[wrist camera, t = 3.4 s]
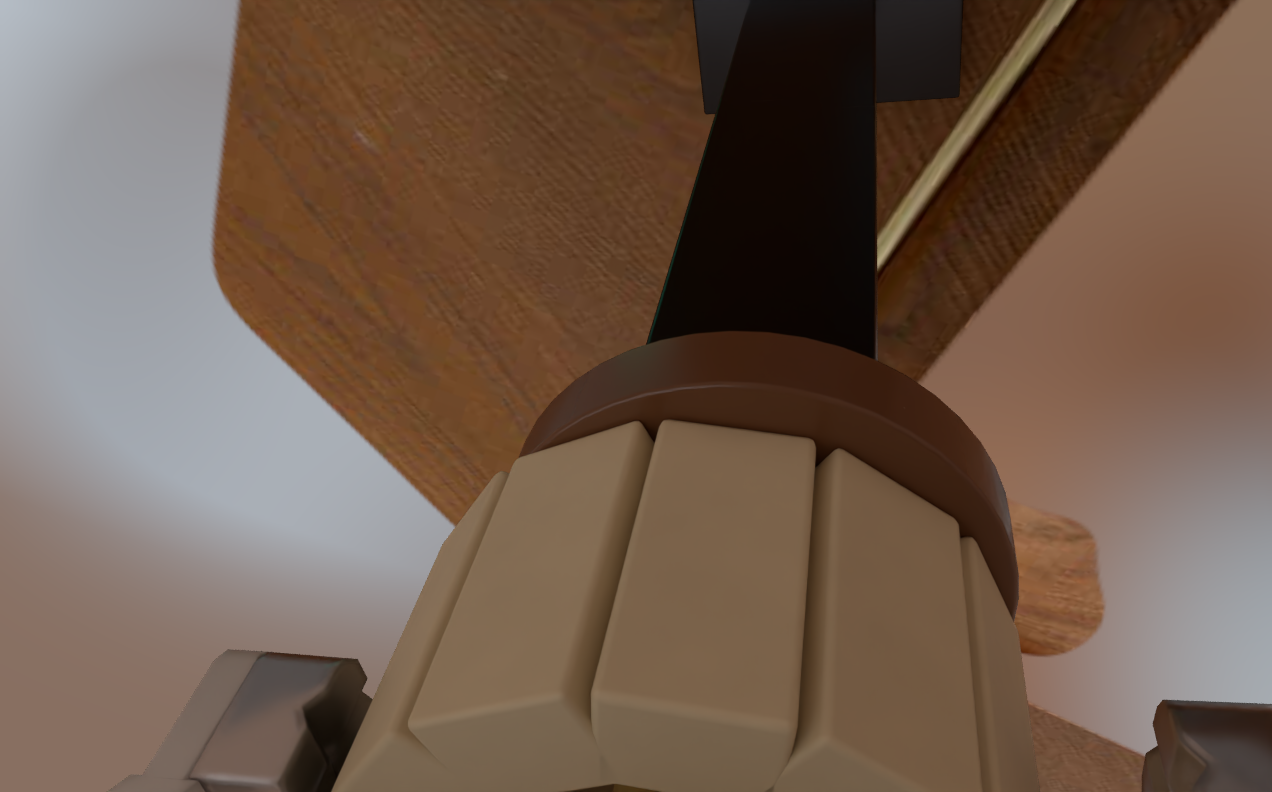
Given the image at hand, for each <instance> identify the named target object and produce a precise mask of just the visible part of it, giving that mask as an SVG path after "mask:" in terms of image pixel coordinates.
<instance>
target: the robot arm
mask: <svg viewBox="0 0 1272 792" xmlns="http://www.w3.org/2000/svg"><path fill="white" fill-rule="evenodd" d="M366 681H367V676H366V675H365V673H364V671H363V669H362V667H361V665H360V663H359V661H358V659H351V658H338V657H325V656H313V655H300V654H299V655H298V654H287V653H274V652H262V651H245V650H227V651H225V652H224V653H223V654H222V655H220V656H219V657H218V658H216V659H215V660H214V661H213V663H212V664H211V666H210V667H209V669H208V671H207V672H206V674H205V676H204V677H203V679H202V680H201V682H200V683H199V685H198V687H197V688H196V690H195V692H194V693H193V695H192V696H191V698H190V700H189V701H188V703H187V704H186V706H185V708H184V709H183V711H182V712H181V714H180V716H179V717H178V719H177V720H176V722H175V724H174V725H173V727H172V729H171V730H170V732H169V733H168V735H167V737H166V738H165V740H164V742H163V743H162V745H161V746H160V748H159V749H158V751H157V753H156V754H155V756H154V758H153V759H152V761H151V762H150V764H149V765H148V767H147V769H146V770H145V772H144V774H143V775H129V776H128V777H127V778H125V779H124V780H122V781H121V782H120V783H118V784H117V785H115V786H114V787H113V788H111V789H110V790H109V791H107V792H331V791H332V789H333V787H334V784H335V782H336V780H337V778H338V775H339V773H340V771H341V769H342V767H343V764H344V762H345V760H346V758H347V756H348V753H349V751H350V749H351V747H352V744H353V742H354V740H355V738H356V736H357V733H358V731H359V729H360V727H361V724H362V722H363V720H364V718H365V716H366V713H367V711H368V709H369V707H370V704H371V702H372V700H373V699H371V698H370V697H369V696H367V695H366V694H365V693H363V692H362V689H363V687H364V685H365V683H366ZM1153 727H1154V731H1155V735H1156V740H1157V744H1158V746H1156V747H1155V748H1153V749H1152V750H1150V751H1149V752H1147V753H1146V755H1145V761H1144V766H1143V772H1142V792H1272V704H1257V703H1231V702H1206V701H1180V700H1162V702H1161V703H1160V704H1159V705H1158V706H1157V709H1156V713H1155V717H1154V721H1153Z"/></svg>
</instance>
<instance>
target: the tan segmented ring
mask: <svg viewBox="0 0 1272 792" xmlns="http://www.w3.org/2000/svg"><path fill="white" fill-rule="evenodd" d="M815 460H816V446H815V443H814V441H813V440H812V439H810V438H806V437H798V436H791V435H783V434H776V433H768V432H761V431H753V430H746V429H738V428H731V427H723V426H716V425H708V424H701V423H693V422H685V421H678V420H670V419H668V420H664V421H663V422H662V423H661V425H660V426H659V429H658V433H657V436H656V440H655V443H654V442H653V440H652V439H651V437H650V436H649V434H648V432H647V431H646V429H645V428H644V426H643V424H642V423H641V422H639V421H633V422H630V423H627V424H624V425H620V426H617V427H614V428H611V429H608V430H605V431H602V432H598V433H595V434H592V435H589V436H586V437H583V438H579V439H576V440H573V441H570V442H567V443H564V444H561V445H557V446H554V447H551V448H548V449H545V450H542V451H538V452H535V453H532V454H529V455H526V456H523V457H520V458H518V459H517V460H516V461H515V462H514V464H513V467H512V469H511V471H510V474H509V473H507V472H503V471H501V472H499V473H497V474H496V475H495V476H494V477H493V478H492V480H491V481H490V482H489V484H488V485H487V486H486V488H485V489H484V490H483V492H482V493H481V494H480V496H479V497H478V498H477V500H476V501H475V502H474V503H473V505H472V506H471V507H470V509H469V510H468V511H467V513H466V514H465V515H464V517H463V518H462V519H461V521H460V522H459V523H458V525H457V526H456V527H455V529H454V530H453V531H452V533H451V534H450V535H449V537H448V538H447V539H446V540H445V542H444V543H443V545H442V547H441V549H440V551H439V553H438V556H437V558H436V560H435V562H434V565H433V567H432V569H431V571H430V573H429V576H428V578H427V580H426V582H425V585H424V587H423V589H422V591H421V593H420V596H419V598H418V600H417V602H416V605H415V607H414V609H413V611H412V613H411V616H410V618H409V620H408V622H407V625H406V627H405V629H404V631H403V633H402V636H401V638H400V640H399V642H398V644H397V647H396V649H395V651H394V654H393V656H392V658H391V660H390V662H389V664H388V667H387V669H386V671H385V673H384V676H383V678H382V681H381V682H380V684H379V687H378V689H377V691H376V693H375V696H374V698H373V700H372V702H371V704H370V707H369V709H368V711H367V713H366V716H365V718H364V720H363V722H362V724H361V727H360V729H359V731H358V733H357V736H356V738H355V740H354V742H353V744H352V747H351V749H350V751H349V753H348V756H347V758H346V760H345V762H344V764H343V767H342V769H341V771H340V773H339V775H338V778H337V780H336V782H335V784H334V787H333V789H332V791H331V792H613V789H614V784H619V785H625V786H631V787H636V788H642V789H648V790H653V791H659V792H1040V788H1039V781H1038V774H1037V766H1036V759H1035V752H1034V745H1033V737H1032V730H1031V723H1030V715H1029V708H1028V701H1027V694H1026V688H1025V687H1026V686H1025V679H1024V672H1023V664H1022V657H1021V650H1020V642H1019V635H1018V630H1017V628H1016V626H1015V624H1014V622H1013V620H1012V617H1011V615H1010V613H1009V611H1008V609H1007V607H1006V605H1005V602H1004V600H1003V598H1002V596H1001V594H1000V592H999V590H998V587H997V585H996V583H995V581H994V579H993V577H992V575H991V572H990V570H989V568H988V566H987V564H986V562H985V559H984V557H983V555H982V553H981V551H980V549H979V547H978V544H977V542H976V541H975V540H974V539H973V538H972V537H962V538H960V533H959V524H958V523H957V521H956V520H955V519H954V518H953V517H951V516H950V515H948V514H947V513H945V512H943V511H942V510H940V509H939V508H937V507H935V506H934V505H932V504H930V503H929V502H927V501H926V500H924V499H922V498H921V497H919V496H918V495H916V494H914V493H913V492H911V491H910V490H908V489H906V488H905V487H903V486H901V485H900V484H898V483H897V482H895V481H893V480H892V479H890V478H889V477H887V476H885V475H884V474H882V473H880V472H879V471H877V470H876V469H874V468H872V467H871V466H869V465H868V464H866V463H864V462H863V461H861V460H860V459H858V458H856V457H855V456H853V455H851V454H850V453H848V452H847V451H845V450H843V449H840V448H838V449H835V450H834V451H833V452H832V453H831V454H830V455H829V456H827V457H826V458H825V459H824V460H823V461H822V462H821V463H820V464H819V465H818V466H817V467H816V468H815Z"/></svg>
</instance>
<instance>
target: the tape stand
mask: <svg viewBox="0 0 1272 792" xmlns="http://www.w3.org/2000/svg"><path fill="white" fill-rule="evenodd" d="M693 9H694V18H695V28H696V37H697V46H698V56H699V65H700V74H701V84H702V93H703V102H704V112H705V114H715V117H714V120H713V124H712V127H711V130H710V134H709V137H708V140H707V144H706V147H705V150H704V153H703V157H702V160H701V163H700V167H699V170H698V173H697V177H696V180H695V183H694V187H693V190H692V193H691V197H690V200H689V203H688V207H687V210H686V213H685V217H684V220H683V223H682V227H681V230H680V233H679V237H678V240H677V243H676V247H675V250H674V253H673V256H672V260H671V263H670V266H669V270H668V273H667V276H666V280H665V283H664V286H663V290H662V293H661V296H660V300H659V303H658V306H657V310H656V313H655V316H654V320H653V323H652V326H651V330H650V333H649V336H648V340H647V343H646V345H644V346H641V347H637V348H634V349H631V350H629V351H626V352H624V353H622V354H620V355H618V356H616V357H614V358H612V359H609V360H607V361H605V362H603V363H601V364H599V365H598V366H596V367H595V368H593V369H592V370H590V371H589V372H587V373H586V374H584V375H582V376H581V377H579V378H578V379H576V380H575V381H574V382H573V383H571V384H570V385H569V386H568V387H567V388H566V389H565V390H564V391H562V392H561V393H560V394H559V395H558V396H557V397H556V398H555V399H554V400H553V401H552V402H551V403H550V405H549V406H548V407H547V408H546V409H545V411H544V412H543V413H542V414H541V416H540V417H539V418H538V419H537V421H536V423H535V425H534V426H533V428H532V430H531V432H530V434H529V435H528V437H527V439H526V441H525V443H524V446H523V448H522V451H521V453H520V455H519V458H520V457H523V456H526V455H529V454H532V453H535V452H538V451H542V450H545V449H548V448H551V447H554V446H557V445H561V444H564V443H567V442H570V441H573V440H576V439H579V438H583V437H586V436H589V435H592V434H595V433H598V432H602V431H605V430H608V429H611V428H614V427H617V426H620V425H624V424H627V423H630V422H633V421H639V422H641V423H642V424H643V426H644V428H645V429H646V431H647V432H648V434H649V436H650V437H651V439H652V440H653V442H654V443H655V440H656V436H657V433H658V429H659V426H660V425H661V423H662V422H663V421H664V420H668V419H670V420H678V421H685V422H693V423H701V424H708V425H716V426H723V427H731V428H738V429H746V430H753V431H761V432H768V433H776V434H783V435H791V436H798V437H806V438H810V439H812V440H813V441H814V443H815V446H816V460H815V468H816V467H817V466H818V465H819V464H820V463H821V462H822V461H823V460H824V459H825V458H826V457H827V456H829V455H830V454H831V453H832V452H833V451H834V450H835V449H838V448H840V449H843V450H845V451H847V452H848V453H850V454H851V455H853V456H855V457H856V458H858V459H860V460H861V461H863V462H864V463H866V464H868V465H869V466H871V467H872V468H874V469H876V470H877V471H879V472H880V473H882V474H884V475H885V476H887V477H889V478H890V479H892V480H893V481H895V482H897V483H898V484H900V485H901V486H903V487H905V488H906V489H908V490H910V491H911V492H913V493H914V494H916V495H918V496H919V497H921V498H922V499H924V500H926V501H927V502H929V503H930V504H932V505H934V506H935V507H937V508H939V509H940V510H942V511H943V512H945V513H947V514H948V515H950V516H951V517H953V518H954V519H955V520H956V521H957V523H958V524H959V533H960V538H962V537H972V538H973V539H974V540H975V541H976V542H977V544H978V547H979V549H980V551H981V553H982V555H983V557H984V559H985V562H986V564H987V566H988V568H989V570H990V572H991V575H992V577H993V579H994V581H995V583H996V585H997V587H998V590H999V592H1000V594H1001V596H1002V598H1003V600H1004V602H1005V605H1006V607H1007V609H1008V611H1009V613H1010V615H1011V617H1012V620H1013V622H1014V619H1015V614H1016V610H1017V605H1018V600H1019V574H1018V567H1017V560H1016V553H1015V546H1014V539H1013V532H1012V525H1011V519H1010V513H1009V508H1008V503H1007V498H1006V493H1005V490H1004V488H1003V485H1002V482H1001V480H1000V477H999V475H998V472H997V469H996V467H995V465H994V464H993V462H992V460H991V459H990V457H989V456H988V454H987V452H986V450H985V449H984V447H983V445H982V444H981V442H980V441H979V440H978V438H977V437H976V436H975V435H974V434H973V432H972V431H971V430H970V429H969V428H968V426H967V425H966V424H965V423H964V422H963V420H962V419H961V418H960V417H959V416H958V415H957V414H956V413H954V412H953V411H952V410H951V409H950V408H949V407H948V406H947V405H945V404H944V403H943V402H942V401H941V400H940V399H939V398H938V397H936V396H935V395H934V394H933V393H931V392H930V391H928V390H927V389H925V388H924V387H922V386H921V385H919V384H918V383H917V382H915V381H914V380H912V379H911V378H909V377H908V376H906V375H904V374H902V373H900V372H898V371H896V370H895V369H893V368H891V367H889V366H887V365H885V364H883V363H881V362H879V361H878V354H877V103H882V102H897V101H911V100H926V99H941V98H956V97H959V94H960V69H961V44H962V19H963V0H693ZM613 792H659V791H653V790H648V789H642V788H636V787H631V786H625V785H619V784H614V789H613Z"/></svg>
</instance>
